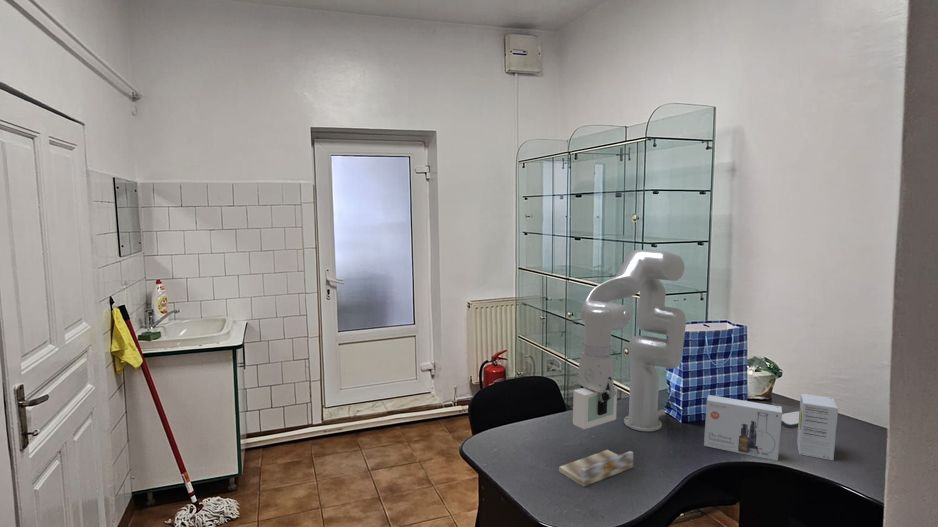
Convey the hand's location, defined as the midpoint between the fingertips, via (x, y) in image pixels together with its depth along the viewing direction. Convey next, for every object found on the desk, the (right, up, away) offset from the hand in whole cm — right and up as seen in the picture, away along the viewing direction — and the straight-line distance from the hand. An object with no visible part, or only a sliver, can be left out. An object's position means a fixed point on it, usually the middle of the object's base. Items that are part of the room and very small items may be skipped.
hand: (595, 410), depth 162 cm
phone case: (+79, -14, +37) cm, 89 cm away
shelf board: (+1, -18, +1) cm, 18 cm away
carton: (0, -3, 0) cm, 3 cm away
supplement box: (+72, -16, +13) cm, 75 cm away
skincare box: (+49, -16, +13) cm, 53 cm away
